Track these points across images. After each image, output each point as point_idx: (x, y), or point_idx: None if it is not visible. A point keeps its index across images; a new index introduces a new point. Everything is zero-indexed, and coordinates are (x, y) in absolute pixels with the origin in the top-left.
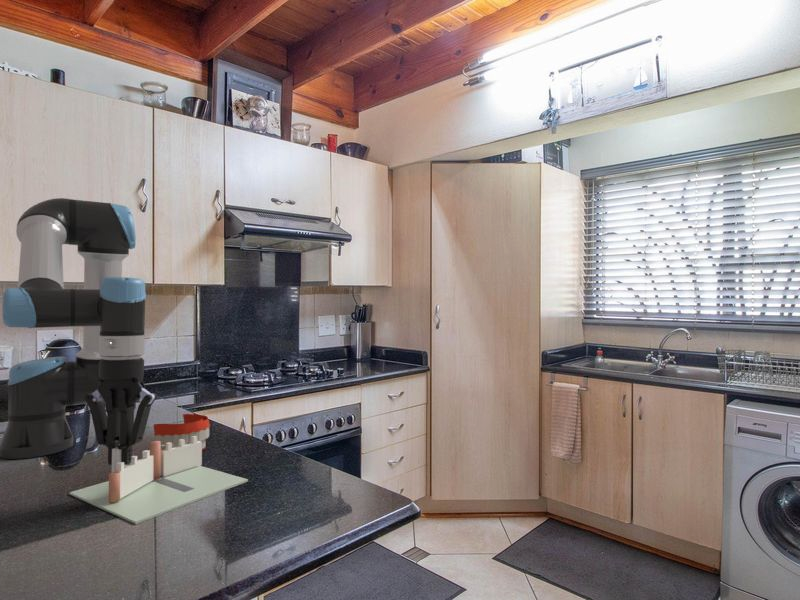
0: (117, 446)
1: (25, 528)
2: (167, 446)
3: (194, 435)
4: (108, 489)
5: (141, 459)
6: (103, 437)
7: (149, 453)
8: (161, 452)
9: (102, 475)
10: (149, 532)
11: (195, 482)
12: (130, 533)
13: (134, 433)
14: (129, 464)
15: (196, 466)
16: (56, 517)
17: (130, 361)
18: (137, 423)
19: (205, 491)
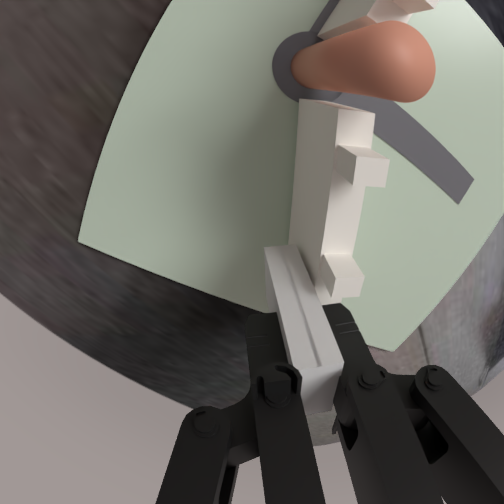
0: (333, 433)
1: (180, 386)
2: (412, 3)
3: None
4: (188, 199)
5: (341, 192)
6: (235, 477)
7: (379, 155)
8: (370, 22)
9: (36, 57)
10: (418, 358)
11: (467, 126)
12: (391, 367)
13: (433, 456)
14: (319, 276)
15: None
16: (195, 353)
17: None
18: (464, 494)
19: (495, 200)
